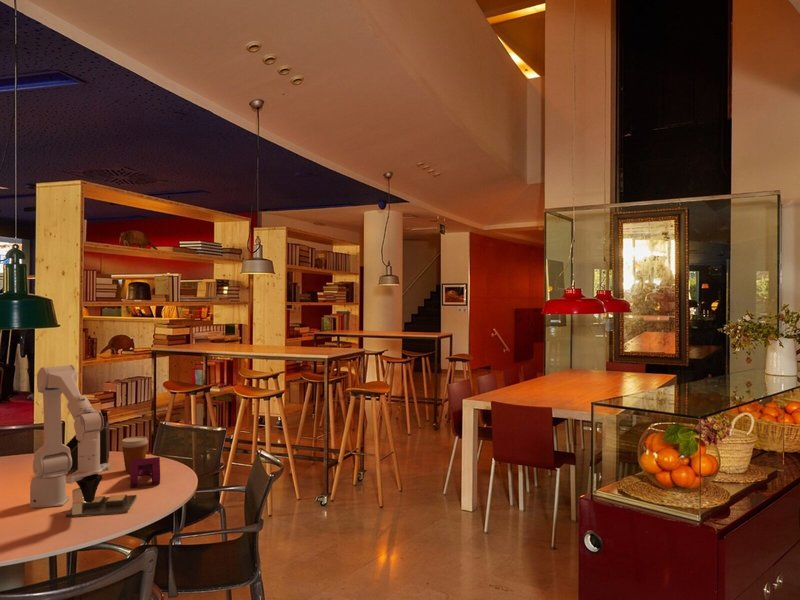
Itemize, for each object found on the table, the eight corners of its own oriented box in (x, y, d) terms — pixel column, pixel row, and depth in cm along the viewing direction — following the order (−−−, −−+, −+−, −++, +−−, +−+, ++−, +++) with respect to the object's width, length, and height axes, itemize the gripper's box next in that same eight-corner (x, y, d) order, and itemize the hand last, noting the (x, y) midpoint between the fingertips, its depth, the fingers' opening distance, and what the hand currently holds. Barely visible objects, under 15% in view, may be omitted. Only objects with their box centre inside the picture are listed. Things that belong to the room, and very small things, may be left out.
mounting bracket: (129, 494, 221) (130, 485, 206) (129, 471, 224) (130, 460, 209) (157, 490, 225) (160, 481, 210) (156, 467, 228) (159, 456, 213)
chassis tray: (65, 517, 181) (65, 508, 181) (79, 502, 194) (79, 493, 194) (127, 512, 184) (127, 503, 184) (136, 498, 198) (136, 489, 198)
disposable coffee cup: (142, 474, 225) (141, 442, 225) (116, 474, 225) (116, 442, 225) (152, 467, 234) (152, 436, 234) (127, 467, 234) (127, 436, 234)
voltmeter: (63, 464, 239) (62, 413, 239) (109, 460, 246) (108, 410, 246) (57, 475, 224) (57, 421, 224) (106, 470, 231) (106, 417, 231)
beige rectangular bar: (72, 498, 189) (72, 488, 189) (87, 496, 191) (87, 486, 191) (69, 515, 174) (69, 504, 174) (84, 513, 176) (84, 502, 176)
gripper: (80, 462, 168) (80, 511, 168) (118, 449, 182) (118, 494, 182) (59, 460, 170) (60, 508, 171) (99, 447, 184) (99, 492, 184)
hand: (89, 501), depth 177 cm, fingers closed
